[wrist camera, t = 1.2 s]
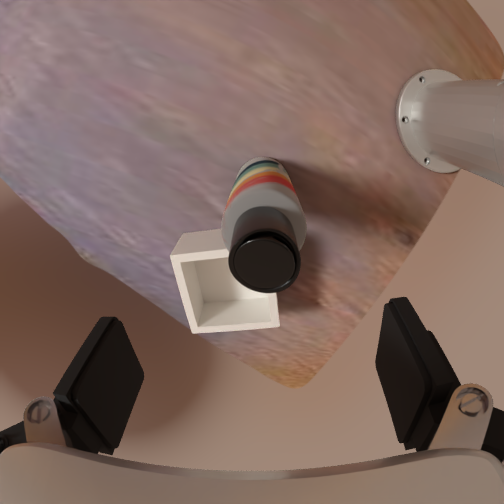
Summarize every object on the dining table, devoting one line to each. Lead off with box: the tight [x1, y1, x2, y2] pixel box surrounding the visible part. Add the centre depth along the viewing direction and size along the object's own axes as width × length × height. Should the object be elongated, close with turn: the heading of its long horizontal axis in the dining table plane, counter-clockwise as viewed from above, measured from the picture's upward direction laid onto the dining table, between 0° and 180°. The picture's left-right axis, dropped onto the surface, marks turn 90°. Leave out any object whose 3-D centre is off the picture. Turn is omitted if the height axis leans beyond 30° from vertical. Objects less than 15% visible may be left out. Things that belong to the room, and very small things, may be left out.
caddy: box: [170, 229, 280, 333], centre depth 36 cm, size 10×10×6 cm
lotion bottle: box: [221, 157, 307, 293], centre depth 25 cm, size 6×6×20 cm
